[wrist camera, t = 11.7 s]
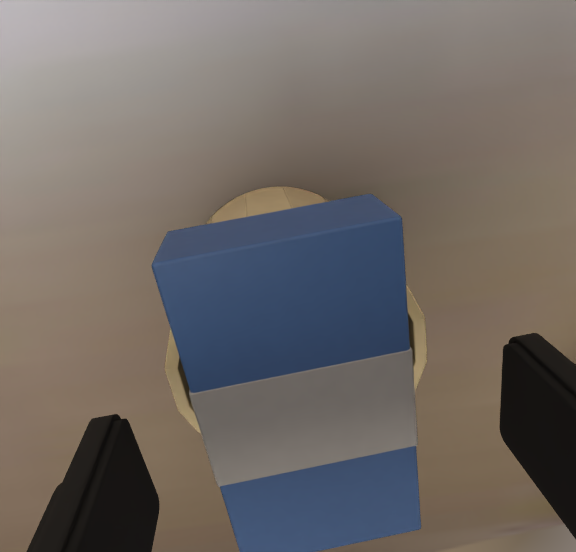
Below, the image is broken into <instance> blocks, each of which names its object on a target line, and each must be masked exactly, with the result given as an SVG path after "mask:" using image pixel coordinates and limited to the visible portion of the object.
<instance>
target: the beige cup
mask: <svg viewBox="0 0 576 552" xmlns="http://www.w3.org/2000/svg"><path fill="white" fill-rule="evenodd" d="M323 202H328V200H327V199H325V198H324V197H322V196H320V195H318V194H315V193H313V192H310V191H307V190H303V189H300V188H293V187H268V188H261V189H257V190H254V191H250V192H248V193H245V194H243V195H240V196H238V197H237V198H235V199H233V200H231V201H229V202H228V203H227V204H225V205H224V206H223V207H221V208H220V209H219V210H218V211H217V212H216V213H215V214H214V215H213V216H212V217H211V218H210V219H209V221H208V222H207V223H206V224H211V223H216V222H222V221H227V220H232V219H238V218H243V217H248V216H254V215H259V214H264V213H270V212H275V211H280V210H286V209H291V208H296V207H302V206H307V205H312V204H318V203H323ZM206 224H205V225H206ZM406 292H407V308H408V324H409V341H410V347H411V348H412V353H413V370H414V387H415V390H416V387H417V385H418V382H419V380H420V377H421V375H422V373H423V370H424V368H425V365H426V363H427V348H426V325H425V316H424V314H423V312H422V311H421V309H420V307H419V305H418V304H417V302H416V300H415V298H414V296H413V295H412V293H411V291H410V289H409V287H408V286H407V284H406ZM164 368H165V373H166V376H167V379H168V382H169V385H170V388H171V391H172V394H173V397H174V400H175V403H176V406H177V409H178V411H179V412H180V414H181V415H182V416H183V417H184V418H185V419H186V420H187V421H188V422H189V423H190V424H191V425H192V426H193V427H194V428H195V429H196V430H197V431H198V432H199V433H200V434H201V432H200V429H199V425H198V422H197V419H196V416H195V413H194V409H193V406H192V403H191V400H190V397H189V390H190V389H189V386H188V382H187V379H186V376H185V373H184V369H183V366H182V363H181V360H180V357H179V353H178V350H177V347H176V344H175V340H174V337H173V334H172V331H171V328H170V334H169V341H168V347H167V354H166V360H165V367H164ZM201 436H202V435H201Z"/></svg>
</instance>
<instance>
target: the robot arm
mask: <svg viewBox="0 0 576 552" xmlns="http://www.w3.org/2000/svg"><path fill="white" fill-rule="evenodd" d="M500 432H501V436H502V438H503V440H504V442H505V444H506V445H507V446H508V448H509V449H510V450H511V452H512V453H513V454H514V456H515V457H516V459H517V460H518V461H519V463H520V464H521V465H522V467H523V468H524V469H525V471H526V472H527V474H528V475H529V476H530V478H531V479H532V480H533V482H534V483H535V484H536V486H537V487H538V488H539V490H540V491H541V493H542V494H543V495H544V497H545V498H546V499H547V501H548V502H549V503H550V505H551V506H552V508H553V509H554V510H555V512H556V513H557V514H558V516H559V517H560V518H561V520H562V521H563V523H564V524H565V525H566V527H567V528H568V529H569V531H570V532H571V533H572V535H573V536H574V537H575V539H576V365H575V364H574V363H572V362H571V361H570V360H569V359H568V358H566V357H565V356H564V355H563V354H562V353H560V352H559V351H558V350H557V349H556V348H555V347H553V346H552V345H551V344H550V343H549V342H547V341H546V340H545V339H544V338H543V337H542V336H540V335H539V334H537V333H531V334H526V335H521V336H516V337H512V338H511V339H510V340H509V344H506V345H505V346H504V348H503V363H502V386H501V409H500ZM158 514H159V498H158V494H157V492H156V489H155V487H154V484H153V482H152V479H151V477H150V474H149V472H148V469H147V467H146V464H145V462H144V459H143V457H142V454H141V452H140V449H139V447H138V444H137V442H136V439H135V437H134V434H133V432H132V429H131V427H130V424H129V422H128V420H127V419H121V418H120V417H119V416H118V415H117V414H114V415H109V416H104V417H98V418H93V419H92V420H91V421H90V422H89V424H88V426H87V429H86V431H85V433H84V435H83V438H82V440H81V442H80V444H79V447H78V449H77V451H76V453H75V456H74V458H73V460H72V462H71V464H70V467H69V469H68V471H67V473H66V476H65V478H64V480H63V482H62V483H61V484H60V485H59V486H57V488H56V490H55V491H54V493H53V495H52V497H51V500H50V502H49V504H48V506H47V508H46V510H45V513H44V515H43V517H42V519H41V521H40V524H39V526H38V528H37V530H36V532H35V535H34V537H33V539H32V541H31V543H30V545H29V548H28V550H27V552H151V551H152V546H153V540H154V535H155V530H156V525H157V520H158Z"/></svg>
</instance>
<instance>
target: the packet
mask: <svg viewBox="0 0 576 552" xmlns="http://www.w3.org/2000/svg"><path fill="white" fill-rule="evenodd" d="M152 269H153V273H154V276H155V279H156V282H157V285H158V289H159V292H160V295H161V298H162V302H163V305H164V308H165V311H166V315H167V318H168V321H169V324H170V327H171V331H172V334H173V337H174V340H175V344H176V347H177V350H178V353H179V357H180V360H181V363H182V366H183V369H184V373H185V376H186V379H187V382H188V386H189V389H190V390H189V397H190V400H191V403H192V406H193V409H194V413H195V416H196V419H197V422H198V425H199V429H200V432H201V435H202V438H203V441H204V445H205V448H206V451H207V454H208V457H209V461H210V464H211V467H212V470H213V473H214V477H215V480H216V483H217V485H218V486H220V489H221V492H222V495H223V499H224V502H225V505H226V508H227V512H228V515H229V518H230V521H231V525H232V528H233V531H234V534H235V537H236V541H237V544H238V547H239V550H240V552H316V551H321V550H326V549H330V548H335V547H340V546H344V545H349V544H354V543H358V542H363V541H368V540H373V539H377V538H382V537H387V536H391V535H396V534H401V533H405V532H410V531H415V530H419V529H421V520H420V503H419V487H418V471H417V455H416V445H418V437H417V421H416V404H415V387H414V370H413V353H412V348H411V347H410V341H409V324H408V308H407V292H406V275H405V259H404V243H403V226H402V218H401V216H400V215H398V214H397V213H396V212H394V211H393V210H392V209H391V208H389V207H388V206H387V205H385V204H384V203H383V202H382V201H380V200H379V199H378V198H376V197H375V196H374V195H373V194H366V195H360V196H355V197H350V198H344V199H339V200H334V201H328V202H323V203H318V204H312V205H307V206H302V207H296V208H291V209H286V210H280V211H275V212H270V213H264V214H259V215H254V216H248V217H243V218H238V219H232V220H227V221H222V222H216V223H211V224H206V225H200V226H195V227H190V228H184V229H179V230H174V231H169V232H167V234H166V236H165V238H164V240H163V242H162V244H161V246H160V248H159V250H158V252H157V254H156V256H155V258H154V260H153V263H152Z"/></svg>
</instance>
